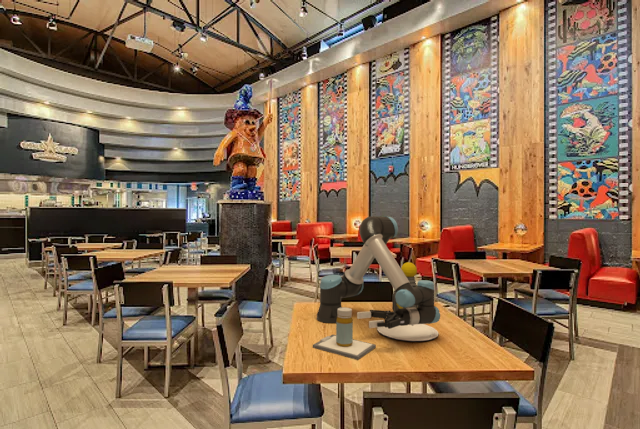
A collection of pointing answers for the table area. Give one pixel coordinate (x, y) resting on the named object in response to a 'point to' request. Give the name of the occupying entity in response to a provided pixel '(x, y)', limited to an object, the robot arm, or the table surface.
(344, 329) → the bottle
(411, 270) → the decorative lamp
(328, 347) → the clipboard
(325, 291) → the robot arm
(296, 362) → the table surface
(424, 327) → the plate
